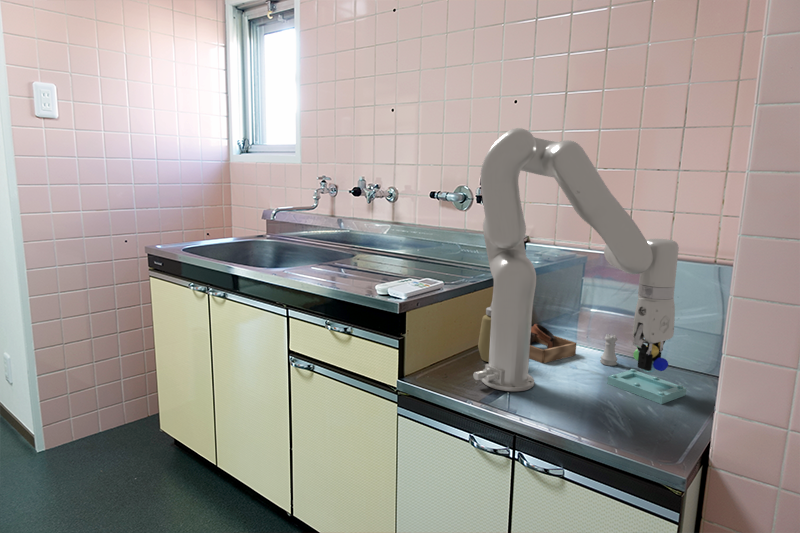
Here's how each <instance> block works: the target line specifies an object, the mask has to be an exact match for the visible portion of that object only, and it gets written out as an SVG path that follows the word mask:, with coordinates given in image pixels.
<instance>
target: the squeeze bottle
mask: <svg viewBox="0 0 800 533" xmlns="http://www.w3.org/2000/svg"><path fill="white" fill-rule="evenodd" d="M491 309H492V302H491V303H490V306H488V307H486V308H485V315H483V316H482V318H481V325H480V329H479V330H480V331H479V336H478V343H477V347H478V348H477V349H478V352H479V355H480V358H481V360H482V361H484V362H486V363H487V362H488V363H489V350H490V331H491Z"/></svg>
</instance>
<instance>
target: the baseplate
mask: <svg viewBox="0 0 800 533" xmlns="http://www.w3.org/2000/svg"><path fill="white" fill-rule="evenodd" d="M607 384H608V385H610V386H613V387H614V388H615V387H616V388H618V389H620V390H623V391H626V392H628V393H631V394H634V395H636V396H639V397H641V398H645V399H647V400H650V401H652V402H654V403H656V404H660V405H663V404H667V403H668V402H672V401H673V400H677V399H680V398H682V397H685V396H686V395H687V387H685V386H684V385H682V384H676V383H673V382H671V381H668V380H665V379H661V378H659V377H658V376H653V375H650V374H647V373H646V372H645V373H644V372H642V371H638V370H637V369H635V368H630V369H629V370H626V371H622V372H619V373H614V374H611V375H609V376H607Z"/></svg>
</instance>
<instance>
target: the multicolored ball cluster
mask: <svg viewBox="0 0 800 533" xmlns="http://www.w3.org/2000/svg"><path fill="white" fill-rule="evenodd" d="M658 353H659V349H658V347H657V346H655V345H653V344H652V351H651V354H652V355H653V358H654V357H655V356H657V355H658ZM632 356H633V358H634V359H635V361H637V362H638V356H639V352H638V348H636V349H635V350H634V351H633V355H632ZM668 367H669V361H668V360H667V359H666V358H663V357H661V358H657V359H656V360H655V361H652V368H651V371H647V370H644V369H641V370H642V371H643V372H645V373H646V372H647V373H653V372H655V370H657V371H658V372H662V371H665V370H667V369H668Z"/></svg>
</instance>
